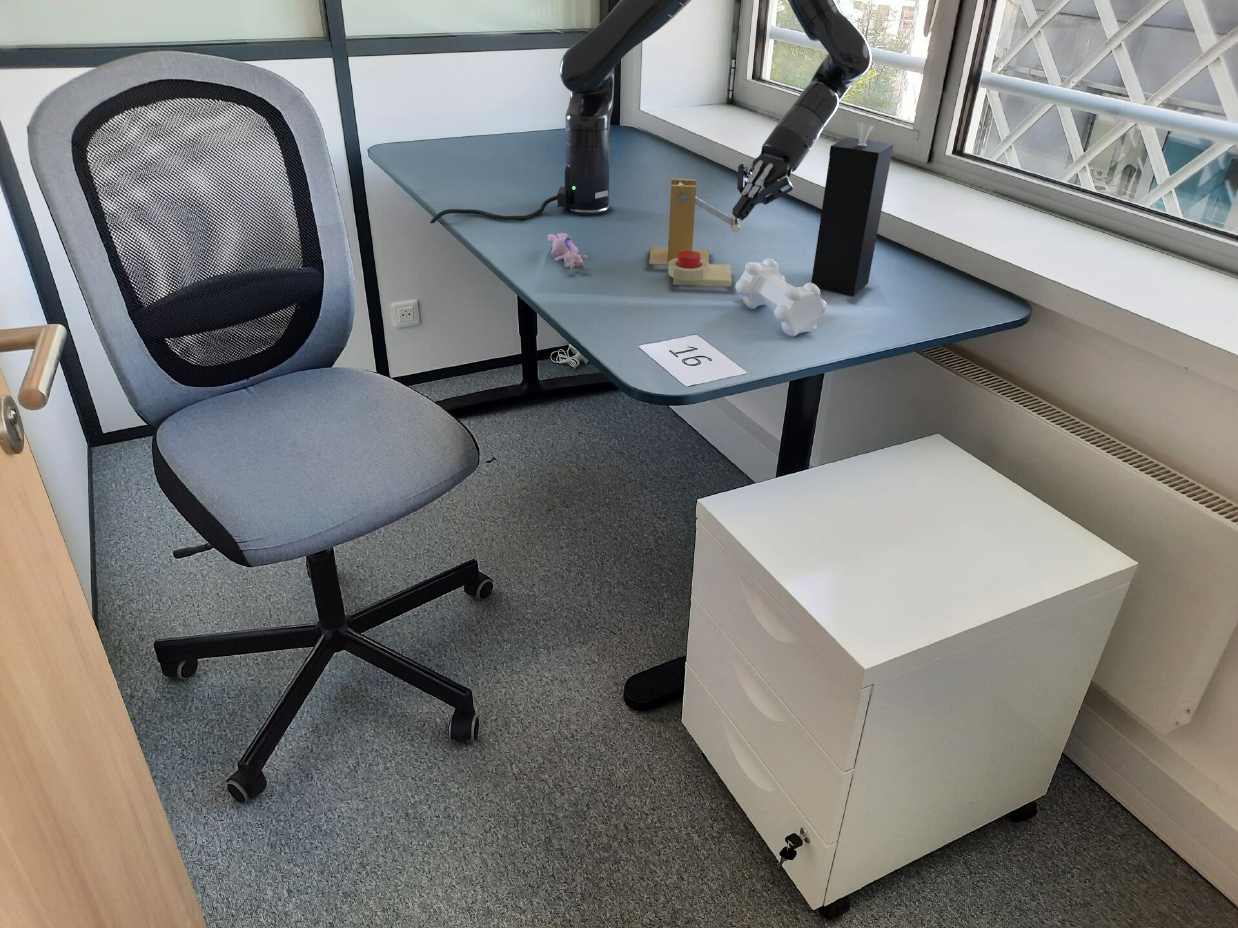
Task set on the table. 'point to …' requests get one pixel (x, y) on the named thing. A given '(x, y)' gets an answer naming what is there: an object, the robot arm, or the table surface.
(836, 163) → the tissue box
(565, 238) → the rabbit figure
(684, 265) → the button
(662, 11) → the robot arm
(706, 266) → the button box
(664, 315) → the table surface
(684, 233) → the bracket
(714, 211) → the tap lever
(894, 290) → the table surface
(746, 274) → the dog bone
